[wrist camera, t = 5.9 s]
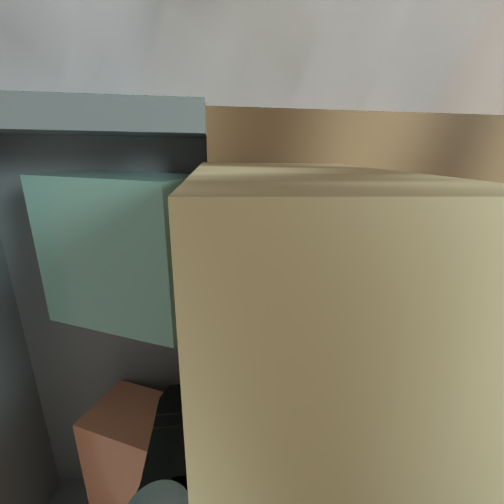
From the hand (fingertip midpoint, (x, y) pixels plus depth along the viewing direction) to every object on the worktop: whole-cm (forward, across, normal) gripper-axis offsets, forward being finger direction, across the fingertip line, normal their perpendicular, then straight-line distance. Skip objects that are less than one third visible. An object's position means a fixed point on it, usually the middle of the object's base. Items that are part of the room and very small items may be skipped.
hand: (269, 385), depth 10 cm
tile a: (+2, +4, -4) cm, 6 cm away
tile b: (+2, +4, +4) cm, 6 cm away
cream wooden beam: (+1, 0, 0) cm, 1 cm away
